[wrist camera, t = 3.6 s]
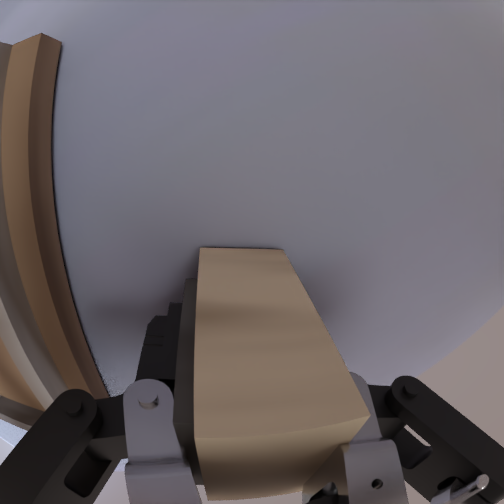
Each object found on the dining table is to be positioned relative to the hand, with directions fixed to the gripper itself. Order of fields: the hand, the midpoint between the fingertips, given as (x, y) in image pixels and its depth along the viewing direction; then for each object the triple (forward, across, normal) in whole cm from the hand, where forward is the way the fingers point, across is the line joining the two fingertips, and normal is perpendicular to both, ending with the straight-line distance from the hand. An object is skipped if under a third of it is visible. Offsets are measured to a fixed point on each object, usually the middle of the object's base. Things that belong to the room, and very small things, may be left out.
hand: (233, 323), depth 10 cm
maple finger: (+1, 0, 0) cm, 1 cm away
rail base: (+1, +13, 0) cm, 13 cm away
